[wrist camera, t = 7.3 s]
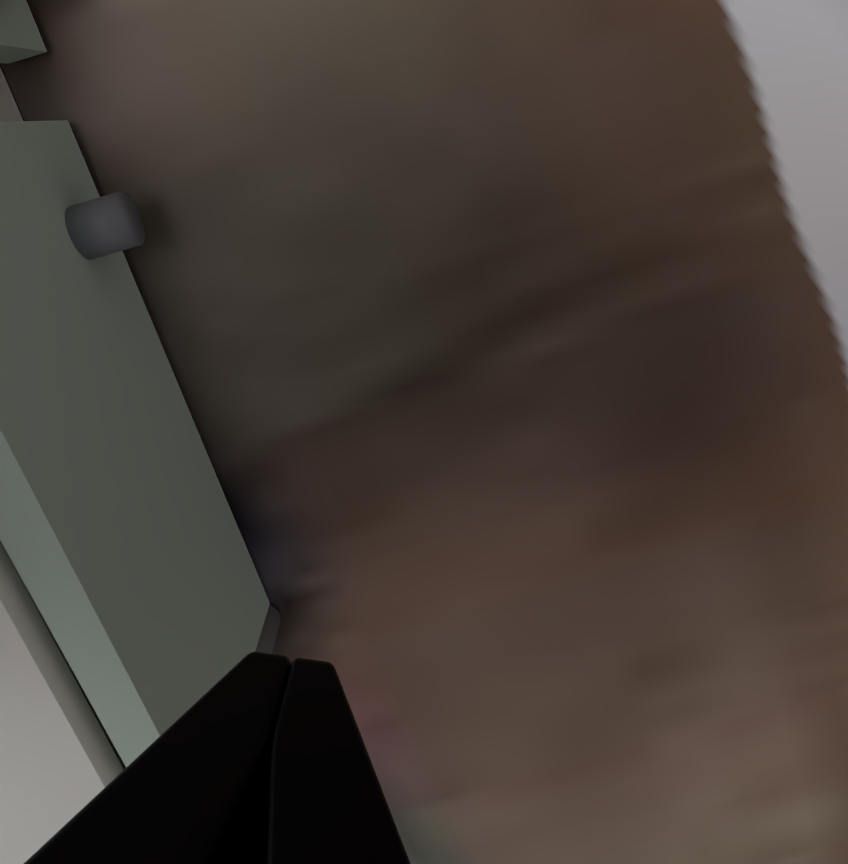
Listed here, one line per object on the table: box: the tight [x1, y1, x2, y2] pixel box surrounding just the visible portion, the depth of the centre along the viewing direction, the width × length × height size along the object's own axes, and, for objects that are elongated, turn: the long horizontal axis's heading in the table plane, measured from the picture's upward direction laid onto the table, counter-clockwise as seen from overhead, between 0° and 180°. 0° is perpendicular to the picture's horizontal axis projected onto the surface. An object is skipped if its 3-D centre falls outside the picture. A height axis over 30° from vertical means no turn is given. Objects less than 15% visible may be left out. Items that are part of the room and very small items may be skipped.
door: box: [0, 120, 281, 767], centre depth 14 cm, size 12×2×7 cm, turn 16°
